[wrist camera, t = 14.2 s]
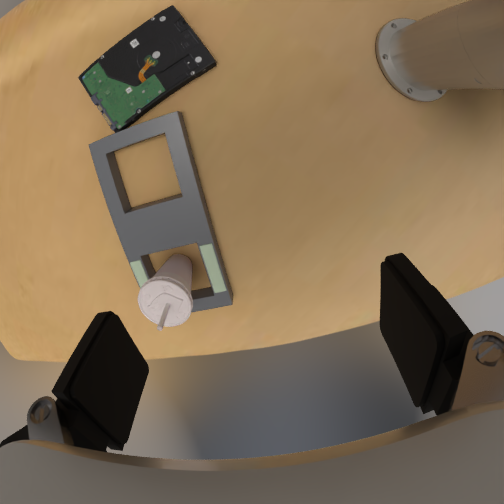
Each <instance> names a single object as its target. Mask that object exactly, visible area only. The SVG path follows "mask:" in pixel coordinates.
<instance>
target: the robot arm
mask: <svg viewBox="0 0 504 504" xmlns="http://www.w3.org/2000/svg"><path fill="white" fill-rule="evenodd" d="M376 54H377V59H378V62H379V65H380V68H381V70H382V71H383V73H384V75H385V77H386V78H387V79H388V81H389V82H390V83H391V85H392V86H393V87H394V88H395V89H396V90H398V91H399V92H400V93H401V94H403V95H404V96H406V97H408V98H410V99H413V100H416V101H422V102H427V101H434V100H437V99H439V98H440V97H442V96H443V95H444V94H445V93H446V91H447V90H448V89H504V0H470V1H467V2H464V3H462V4H459V5H456V6H453V7H451V8H448V9H445V10H443V11H440V12H438V13H435V14H433V15H430V16H428V17H425V18H423V19H421V20H419V21H415V20H412V19H408V18H399V19H394V20H392V21H390V22H388V23H387V24H385V25H384V26H383V27H382V28H381V30H380V31H379V33H378V36H377V40H376ZM383 58H384V59H383ZM407 90H408V91H407ZM380 330H381V333H382V335H383V337H384V339H385V341H386V343H387V345H388V347H389V350H390V352H391V354H392V356H393V358H394V360H395V362H396V364H397V367H398V369H399V371H400V373H401V376H402V378H403V380H404V382H405V384H406V387H407V389H408V391H409V393H410V396H411V398H412V401H413V403H414V405H415V406H416V407H419V406H420V407H421V409H422V412H423V414H425V413H427V412H430V411H432V410H434V411H435V413H436V415H438V416H435V417H432V418H429V419H426V420H423V421H420V422H417V423H414V424H411V425H409V426H406V427H403V428H399V429H396V430H394V431H390V432H387V433H384V434H380V435H376V436H373V437H369V438H365V439H361V440H357V441H353V442H349V443H345V444H341V445H336V446H331V447H326V448H321V449H316V450H311V451H305V452H298V453H292V454H284V455H276V456H267V457H257V458H244V459H227V460H226V459H224V460H181V459H162V458H149V457H137V456H129V455H122V454H114V453H108V452H107V451H106V448H107V446H108V447H109V448H110V449H114V450H121V451H122V450H123V447H124V444H125V443H126V442H127V441H128V438H129V435H130V431H131V428H132V424H133V421H134V417H135V414H136V411H137V408H138V404H139V401H140V398H141V394H142V391H143V389H144V385H145V382H146V379H147V376H148V373H149V367H148V364H147V362H146V361H145V359H144V358H143V356H142V355H141V353H140V351H139V350H138V348H137V347H136V345H135V343H134V342H133V340H132V338H131V337H130V335H129V333H128V332H127V330H126V328H125V327H124V325H123V323H122V321H121V320H120V318H119V316H118V315H116V314H114V313H113V312H112V311H108V312H101V313H98V314H97V315H96V316H95V318H94V319H93V321H92V322H91V324H90V326H89V327H88V329H87V330H86V332H85V334H84V335H83V337H82V339H81V340H80V342H79V343H78V345H77V347H76V349H75V350H74V352H73V354H72V355H71V357H70V359H69V361H68V362H67V364H66V366H65V368H64V369H63V371H62V373H61V375H60V377H59V379H58V380H57V382H56V384H55V386H54V388H53V390H52V393H53V394H54V395H55V396H56V397H57V400H56V401H55V400H54V399H52V398H51V397H48V396H45V397H42V398H39V399H38V400H36V401H35V402H34V403H33V404H32V406H31V407H30V409H29V411H28V414H27V424H28V425H26V426H25V427H23V428H22V429H20V430H19V431H17V432H15V433H14V434H12V435H11V436H9V437H8V438H6V439H5V440H3V441H2V442H1V444H0V504H504V336H502V335H501V334H499V333H496V332H493V331H483V332H479V333H477V334H475V335H473V334H472V332H470V330H469V329H468V327H467V326H466V325H465V323H464V322H463V321H462V319H461V318H460V317H459V316H458V314H457V313H456V312H455V310H454V309H453V308H452V307H451V305H450V304H449V303H448V302H447V301H446V299H445V298H444V297H443V296H442V295H441V293H440V292H439V291H438V290H437V289H436V288H435V287H434V286H433V285H431V284H430V283H429V282H428V281H427V279H426V278H425V277H424V276H423V275H422V274H421V273H420V271H419V270H418V269H417V268H416V267H415V266H414V265H413V264H412V263H411V261H410V260H409V259H408V258H407V257H406V256H405V255H404V254H403V253H398V254H394V255H390V256H387V257H386V258H385V261H384V262H382V263H381V300H380Z"/></svg>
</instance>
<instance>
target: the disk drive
mask: <svg viewBox="0 0 504 504" xmlns="http://www.w3.org/2000/svg"><path fill="white" fill-rule="evenodd" d="M215 66H216V61H215V60H214V58H213V56H212V55H211V54H210V53H209V51H208V50H207V49H206V47H205V46H204V45H203V43H202V42H201V40H200V39H199V38H198V37H197V35H196V34H195V33H194V31H193V30H192V29H191V27H190V26H189V25H188V24H187V23H186V21H185V20H184V18H183V17H182V16H181V14H180V13H179V12H178V11H177V10H176V8H175V7H174V6H173V5H172V6H170V7H168V8H166V9H165V10H163V11H161V12H160V13H158V14H156V15H155V16H154V17H153V18H151V19H149V20H148V21H146V22H145V23H143V24H142V25H141V26H139V27H138V28H136V29H135V30H134V31H132V32H131V33H130V34H128V35H127V36H126V37H124V38H123V39H122V40H120V41H119V42H118V43H117V44H115V45H114V46H113V47H111V48H110V49H109V50H108V51H107V52H105V53H104V54H103V55H102V56H101V57H100V58H99V59H97V60H96V61H95V62H94V63H92V64H91V65H90V66H89V67H88V68H87V69H86V70H85V71H84V72H83V73H82V74H81V75H80V76H79V77H78V78H79V80H80V81H81V83H82V85H83V86H84V88H85V89H86V91H87V93H88V94H89V96H90V97H91V100H92V101H93V103H94V104H95V105H97V107H98V109H99V110H100V112H102V115H103V117H104V118H105V120H106V121H107V123H108V124H109V126H111V127H110V128H111V129H112V130H113V131H114V132H115V133H117V132H120V131H122V130H125V129H126V128H127V127H129V126H130V125H131V124H133V123H134V122H136V121H137V120H138V119H139V118H140V117H141V116H143V115H144V114H145V113H147V112H148V111H149V110H150V109H152V108H153V107H154V106H156V105H157V104H159V103H160V102H161V101H163V100H164V99H166V98H167V97H168V96H170V95H171V94H173V93H174V92H175V91H177V90H178V89H180V88H181V87H183V86H184V85H186V84H187V83H189V82H190V81H192V80H194V79H195V78H197V77H199V76H200V75H202V74H204V73H205V72H207V71H208V70H210V69H211V68H213V67H215Z"/></svg>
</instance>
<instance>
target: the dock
mask: <svg viewBox="0 0 504 504" xmlns="http://www.w3.org/2000/svg"><path fill="white" fill-rule="evenodd" d="M162 134H165V135H166V139H167V142H168V146H169V150H170V153H171V157H172V161H173V164H174V168H175V171H176V175H177V178H178V182H179V185H180V189H181V192H182V194H178V195H174V196H171V197H167V198H164V199H160V200H157V201H153V202H150V203H146V204H143V205H140V206H136V207H133V208H131V206H130V203H129V200H128V197H127V194H126V191H125V188H124V185H123V181H122V178H121V175H120V172H119V168H118V165H117V161H116V158H115V154H114V151H117V150H119V149H122V148H125V147H127V146H130V145H133V144H135V143H138V142H141V141H144V140H147V139H150V138H153V137H156V136H159V135H162ZM89 148H90V151H91V155H92V159H93V162H94V165H95V169H96V172H97V175H98V179H99V182H100V185H101V188H102V191H103V194H104V197H105V200H106V203H107V206H108V209H109V212H110V215H111V217H112V220H113V223H114V226H115V228H116V231H117V234H118V236H119V239H120V241H121V244H122V247H123V249H124V252H125V254H126V256H127V259H128V261H129V264H130V266H131V269H132V271H133V273H134V276H135V278H136V280H137V282H138V285H139V287H140V289H141V287H142V285H143V284H144V283H145V282H146V281H147V280H149V279H151V278H152V277H153V276H154V275H155V274H156V273H155V271H154V268H153V266H152V263H151V261H150V258H149V256H148V254H151V253H155V252H159V251H163V250H167V249H172V248H176V247H180V246H184V245H188V244H193V243H197V244H198V247H199V251H200V254H201V257H202V260H203V263H204V266H205V269H206V272H207V275H208V278H209V281H210V284H211V287H209V288H204V289H199V290H194V291H191V296H192V299H193V308H192V311H191V312H196V311H201V310H207V309H212V308H218V307H223V306H228V305H233V293H232V290H231V287H230V284H229V280H228V277H227V274H226V270H225V267H224V264H223V260H222V257H221V254H220V250H219V247H218V244H217V240H216V237H215V233H214V230H213V226H212V223H211V219H210V216H209V212H208V209H207V205H206V202H205V198H204V195H203V191H202V187H201V184H200V180H199V177H198V173H197V169H196V165H195V162H194V158H193V154H192V150H191V147H190V143H189V139H188V135H187V131H186V128H185V124H184V120H183V116H182V112H179V111H176V112H173V113H170V114H167V115H164V116H161V117H158V118H155V119H152V120H149V121H146V122H143V123H141V124H138V125H135V126H132V127H130V128H127V129H125V130H122V131H120V132H117V133H115V134H112V135H110V136H107V137H105V138H103V139H100V140H98V141H96V142H93V143H91V144H89Z"/></svg>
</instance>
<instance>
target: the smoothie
mask: <svg viewBox="0 0 504 504" xmlns="http://www.w3.org/2000/svg"><path fill="white" fill-rule="evenodd" d="M191 283H192V263H191V261H190V259H189V258H188V257H187V256H185V255H182V254H174V255H172V256H171V257H169V259H168V260H167V261H166V262H165V263H164V264H163V266H162V267H161V268H160V269H159V270H158V271H157V273H156V274H155V275H154V276H153V277H152V278H151V279H149V280H147V281H146V282H145V283H144V284H143V285H142V287H141V289H140V292H139V295H138V304H139V307H140V309H141V311H142V313H143V314H144V315H145V316H146V317H147V318H148V319H149V320H150V321H152V322H154V323H156V324H158V327H157V329H158V330H159V331H161V330H162V329H163V326H167V327H172V326H177V325H180V324H182V323H184V322H185V321H186V320H187V319H188V318H189V316H190V314H191V311H192V308H193V299H192V296H191Z"/></svg>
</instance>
